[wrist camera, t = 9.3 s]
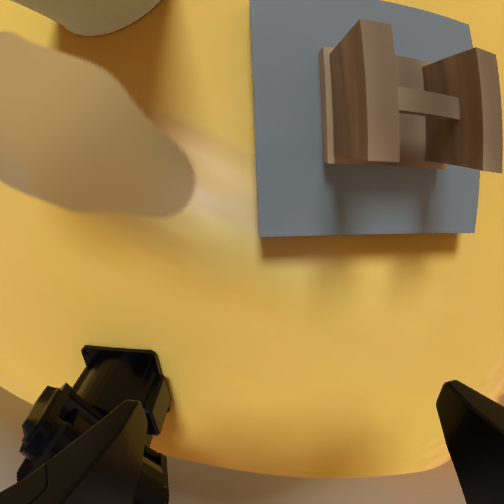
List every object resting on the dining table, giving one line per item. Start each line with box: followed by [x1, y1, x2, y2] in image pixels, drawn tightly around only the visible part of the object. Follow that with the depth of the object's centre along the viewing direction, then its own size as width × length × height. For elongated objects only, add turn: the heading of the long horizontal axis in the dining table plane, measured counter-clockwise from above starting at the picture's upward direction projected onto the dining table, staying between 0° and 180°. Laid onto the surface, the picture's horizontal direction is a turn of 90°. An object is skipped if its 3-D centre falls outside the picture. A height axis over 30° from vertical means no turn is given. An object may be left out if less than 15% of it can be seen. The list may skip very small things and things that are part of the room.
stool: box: [318, 19, 503, 173], centre depth 12 cm, size 7×6×6 cm
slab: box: [249, 0, 480, 237], centre depth 16 cm, size 14×14×2 cm
